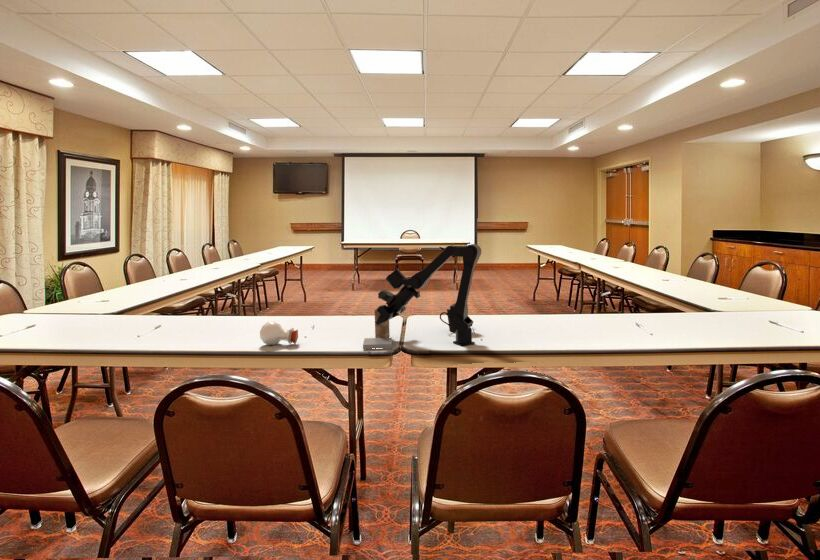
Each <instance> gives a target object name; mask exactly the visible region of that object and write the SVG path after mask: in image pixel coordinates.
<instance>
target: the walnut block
mask: <svg viewBox="0 0 820 560" xmlns="http://www.w3.org/2000/svg"><path fill="white" fill-rule="evenodd" d="M379 316H380V313H379V312H378V311H377V308H375V309H374V333H375V334H374V335H375V337H374V338H389V337H390V320H387V321H385V322H383V323H381V324H378V325H377V324H376V322H377V320H378V318H379ZM390 338H391V337H390Z"/></svg>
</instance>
